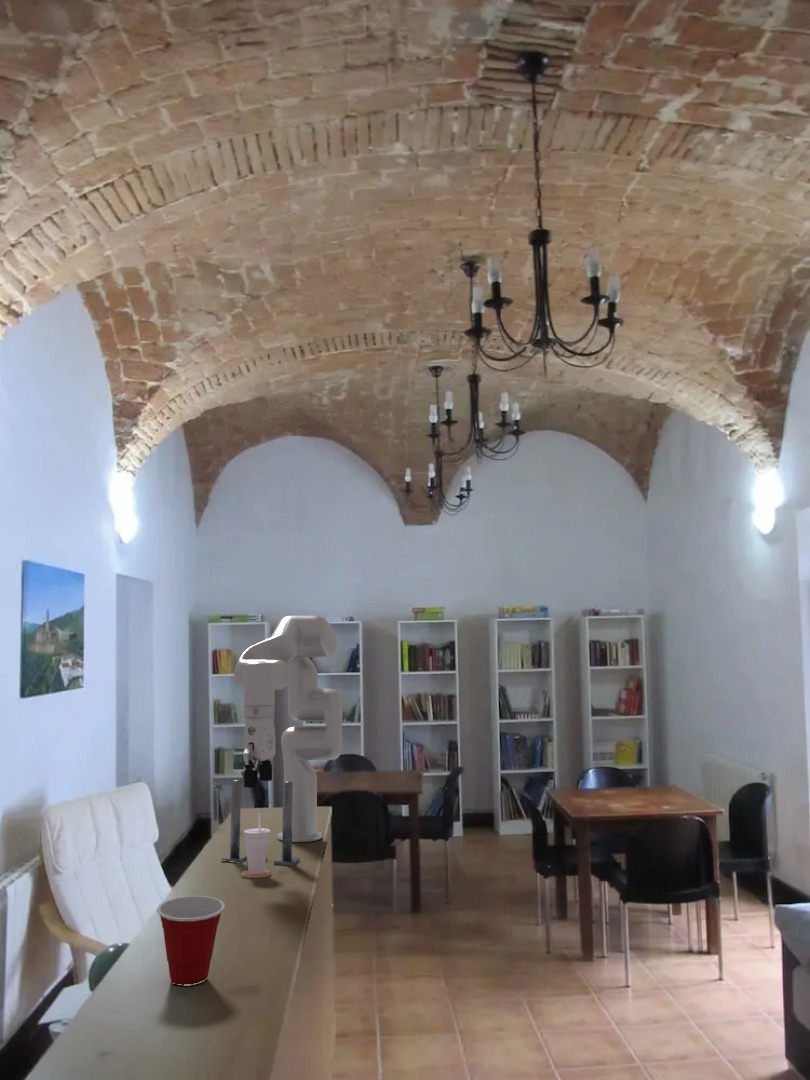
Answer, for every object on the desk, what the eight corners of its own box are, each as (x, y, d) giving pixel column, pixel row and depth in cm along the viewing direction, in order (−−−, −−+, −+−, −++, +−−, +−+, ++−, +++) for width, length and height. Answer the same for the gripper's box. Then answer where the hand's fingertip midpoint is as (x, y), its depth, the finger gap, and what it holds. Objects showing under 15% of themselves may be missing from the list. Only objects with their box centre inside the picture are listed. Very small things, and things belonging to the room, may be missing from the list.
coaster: (247, 871, 225) (247, 868, 225) (274, 872, 224) (274, 869, 224) (236, 877, 218) (236, 875, 218) (264, 879, 217) (264, 876, 217)
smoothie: (266, 875, 218) (267, 814, 220) (239, 875, 219) (240, 814, 220) (272, 869, 224) (273, 810, 226) (246, 868, 225) (247, 809, 227)
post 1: (229, 857, 240) (231, 778, 242) (247, 858, 239) (249, 779, 241) (221, 861, 235) (223, 781, 238) (240, 862, 234) (241, 781, 237)
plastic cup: (155, 996, 143) (158, 915, 145) (153, 973, 153) (156, 898, 155) (226, 989, 146) (228, 910, 148) (220, 967, 156) (221, 893, 158)
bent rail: (263, 858, 239) (263, 852, 239) (275, 859, 238) (275, 853, 238) (242, 871, 225) (242, 864, 225) (255, 871, 224) (255, 865, 225)
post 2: (280, 860, 237) (282, 780, 239) (299, 861, 236) (300, 780, 238) (274, 864, 232) (275, 783, 235) (292, 865, 231) (294, 783, 234)
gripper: (260, 716, 217) (259, 790, 215) (285, 709, 233) (285, 778, 232) (230, 715, 218) (229, 789, 217) (257, 709, 235) (257, 777, 233)
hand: (258, 783), depth 224 cm, fingers open, 9 cm apart
